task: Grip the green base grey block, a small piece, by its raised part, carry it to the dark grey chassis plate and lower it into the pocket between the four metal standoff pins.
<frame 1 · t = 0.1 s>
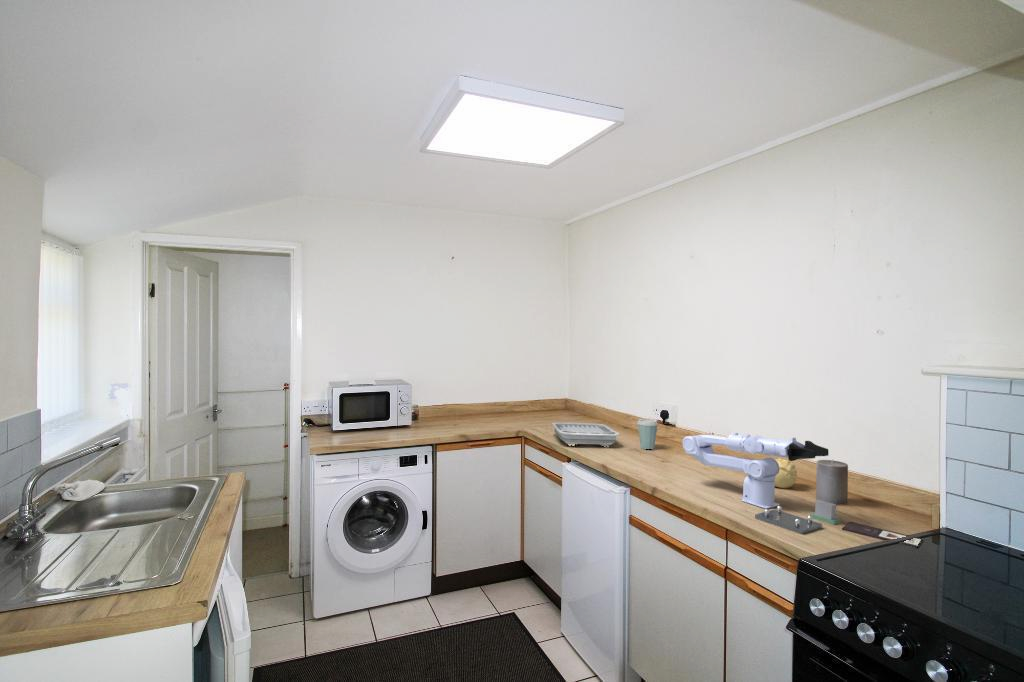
hand: (821, 453, 164), 22 cm above the counter, tool horizontal, fingers open, 7 cm apart
chocolate bar: (881, 537, 155), on the counter
disposable coffee cup: (646, 449, 266), on the counter
sculpture: (779, 486, 205), on the counter
green base grey block: (825, 520, 167), on the counter
pillar candle: (830, 501, 187), on the counter
dish rack: (583, 442, 280), on the counter
chassis: (787, 522, 163), on the counter
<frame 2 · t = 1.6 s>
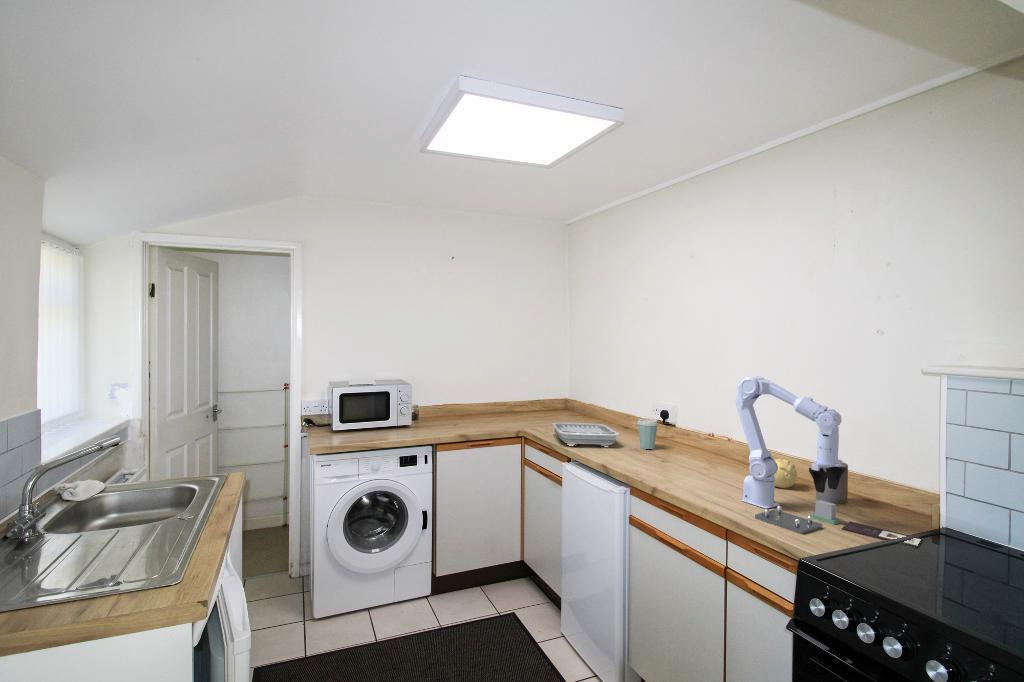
hand: (826, 490, 167), 9 cm above the counter, tool pointing down, fingers open, 7 cm apart
nothing on the counter moved.
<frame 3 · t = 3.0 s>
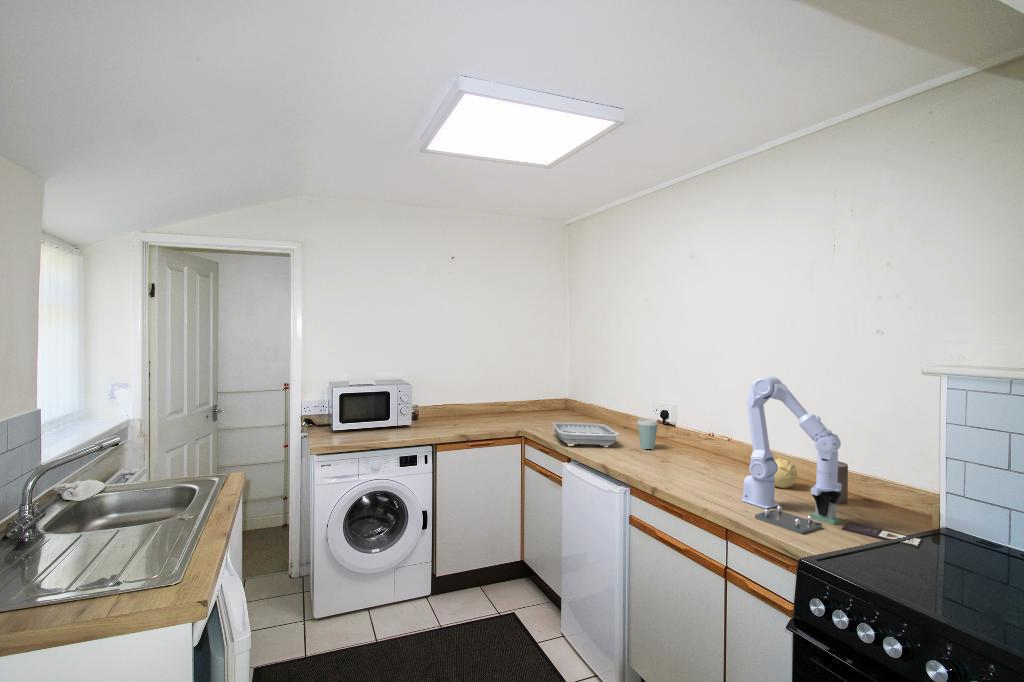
hand: (825, 514, 167), 2 cm above the counter, tool pointing down, fingers closed on green base grey block, 3 cm apart
green base grey block: (825, 519, 167), on the counter, touching gripper
everything else where it was.
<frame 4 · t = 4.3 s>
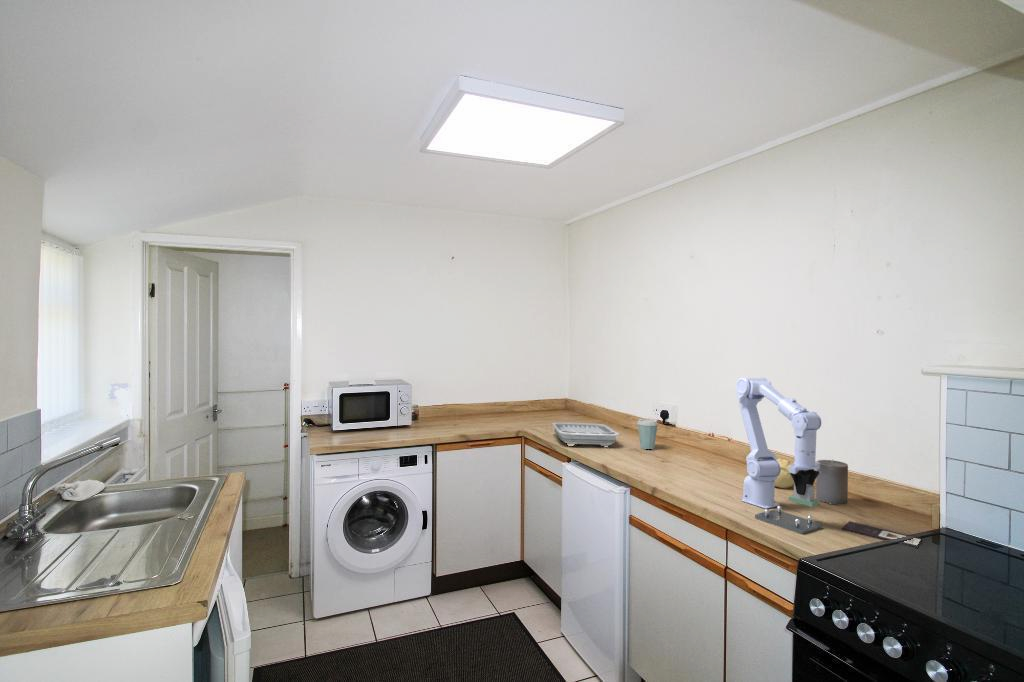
hand: (803, 493, 164), 9 cm above the counter, tool pointing down, fingers closed on green base grey block, 3 cm apart
green base grey block: (803, 502, 164), point 6 cm above the counter, touching gripper
everything else where it was.
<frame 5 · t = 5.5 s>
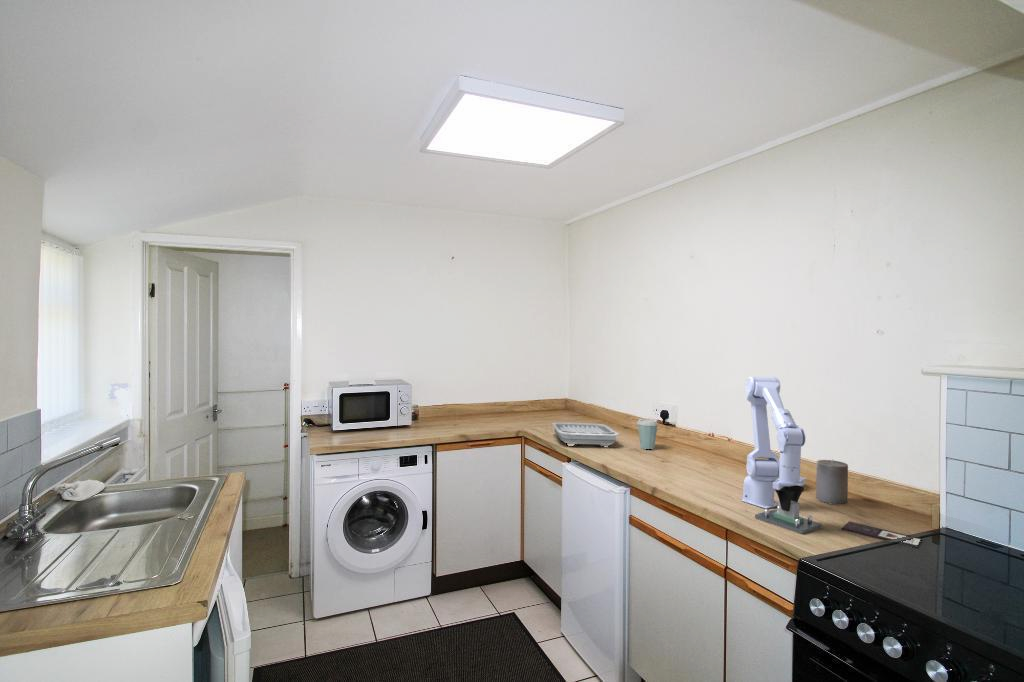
hand: (788, 509, 163), 4 cm above the counter, tool pointing down, fingers closed on green base grey block, 3 cm apart
green base grey block: (788, 519, 163), point 1 cm above the counter, touching chassis, gripper
everything else where it was.
when the fingers open (4 cm above the counter, at t = 5.8 s): green base grey block stays where it is, resting on chassis.
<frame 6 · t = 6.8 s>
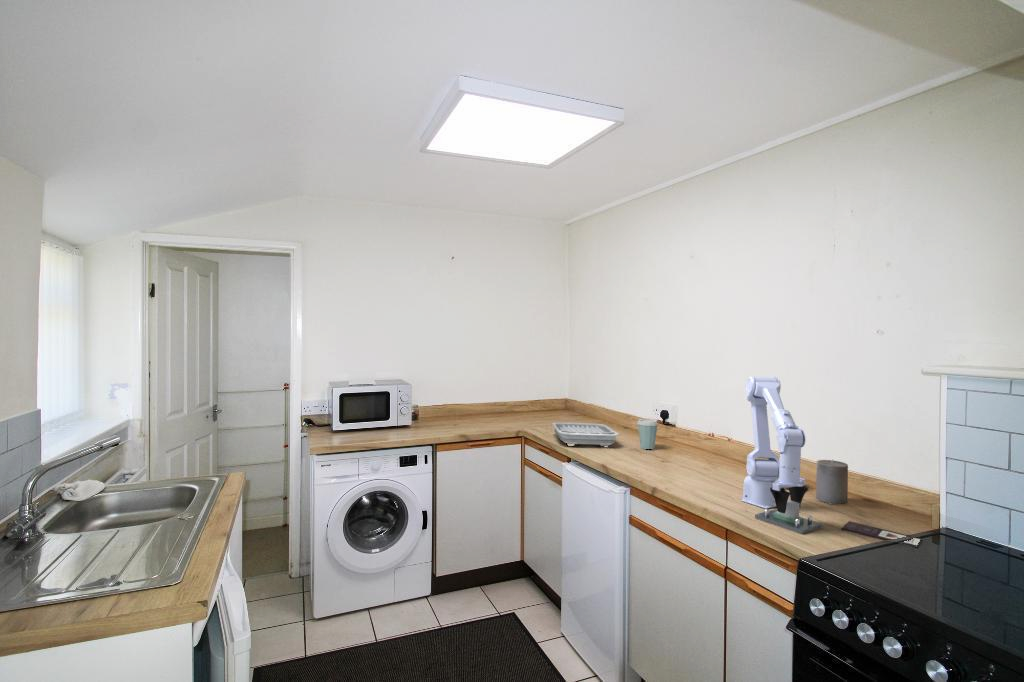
hand: (788, 510, 163), 4 cm above the counter, tool pointing down, fingers open, 7 cm apart
green base grey block: (788, 519, 163), point 1 cm above the counter, touching chassis
everything else where it was.
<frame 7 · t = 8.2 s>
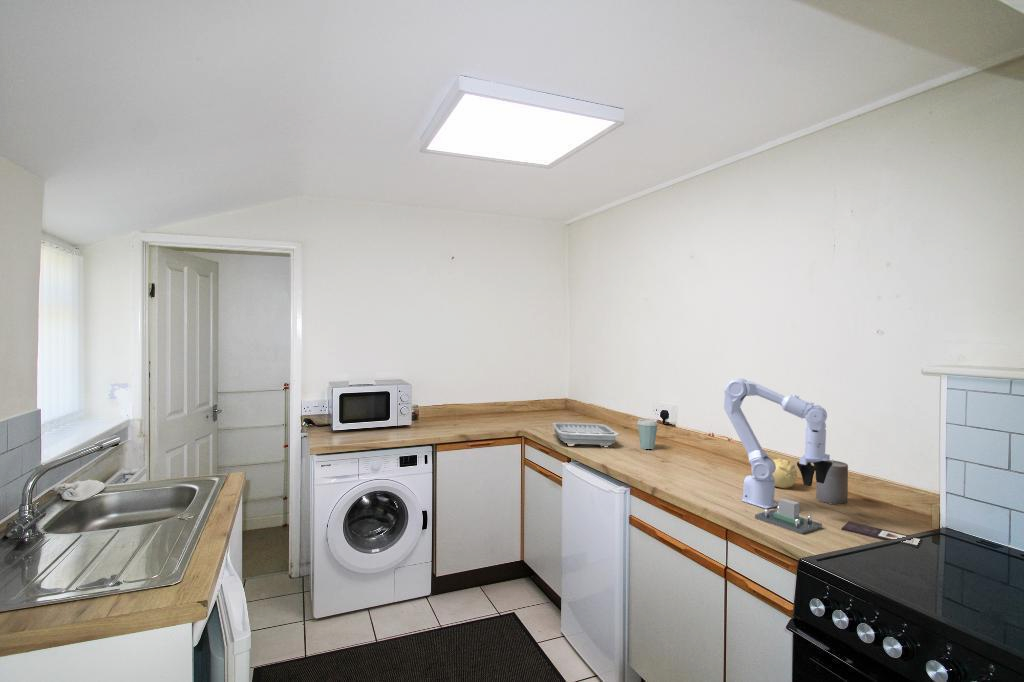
hand: (813, 484, 172), 10 cm above the counter, tool pointing down, fingers open, 7 cm apart
nothing on the counter moved.
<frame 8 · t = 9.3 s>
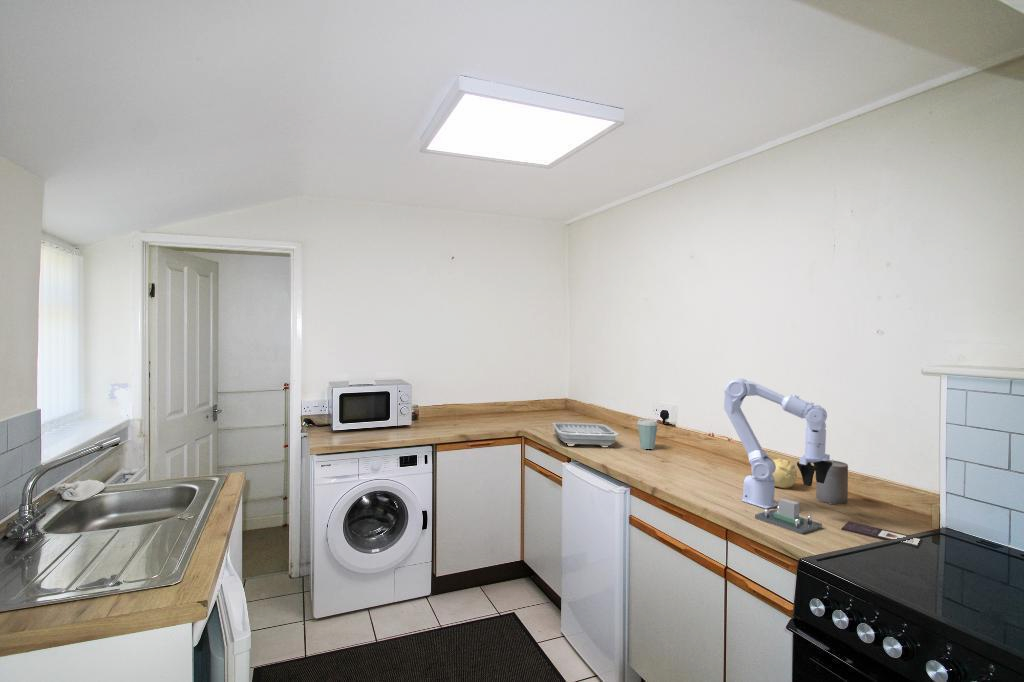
hand: (813, 484, 172), 10 cm above the counter, tool pointing down, fingers open, 7 cm apart
nothing on the counter moved.
at the end: green base grey block 0.1 cm off-centre on the chassis, point 1.2 cm above the chassis's base; green base grey block tilted 0°; the gripper is holding nothing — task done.
